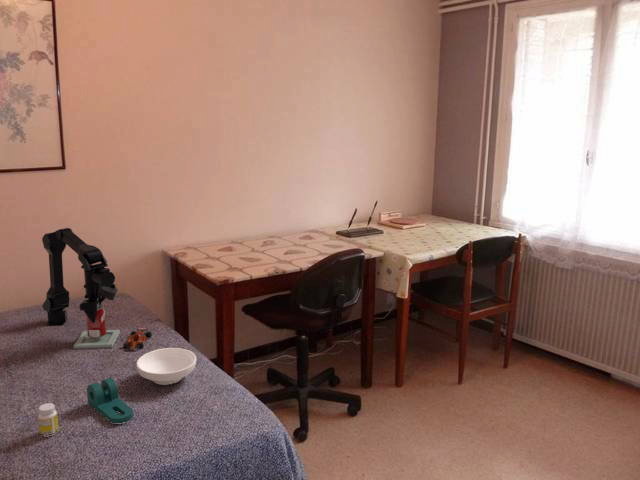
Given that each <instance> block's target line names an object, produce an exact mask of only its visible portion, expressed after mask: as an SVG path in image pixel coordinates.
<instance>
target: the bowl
mask: <svg viewBox="0 0 640 480" xmlns="http://www.w3.org/2000/svg"><path fill="white" fill-rule="evenodd" d="M196 366H197V355H196V354H195V353H194V352H193V351H190V350H188V349H185V348H181V347H180V348H179V347H164V348H158V349H155V350H151V351H149V352H146V353H144V354H142V356H140V357H139V358H138V359H137V361H136V369H137V371H138V374H139V375H140V376H141V377H142V378H144V379H147V380H150V381H152V382H153V383H154V384H156V385H162V386H167V385H169V384H170V385H174V384H176V383H178V382H180V381H181V380H182V379H183V378H185V377H186V376H187V375H189V374H191V373H192V372H193V371H194V369H195V368H196ZM173 383H174V384H173Z"/></svg>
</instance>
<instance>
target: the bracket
mask: <svg viewBox="0 0 640 480" xmlns="http://www.w3.org/2000/svg"><path fill="white" fill-rule="evenodd" d="M86 394H87V395H86V396H87V404H89V406H90V405H91V406H92V407H93V408H95V409H96V410H97V411H98V412H99V413H101V414H102V415H103V416H104V417H106V418H107V419H108V420H109V421H110V422H112V423H123V422H127V421H129V420H130V419H131V418H132V417H133V418H134V411H133V408H132V407H130V406H129V405H128V404H127V403H125V402H124V401H123V400H121V399H120V398H119V388H118V385H117V382H116V381H115V379H114V378H113V377H108V378H105V379H102V380H101V382H100V383H98V382H97V381H96V382H94V383H91V384H88V385H87V387H86ZM91 406H90V407H91ZM92 407H91V408H92ZM93 408H92V409H93ZM96 410H95V411H96ZM97 411H96V412H97ZM116 411H118V412H120V413H121V414H122V415H120V414H119V413H118V412H116ZM98 412H97V413H98ZM99 413H98V414H99ZM103 416H102V417H103ZM104 417H103V418H104ZM109 421H108V422H109ZM110 422H109V423H110Z"/></svg>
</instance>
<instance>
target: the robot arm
mask: <svg viewBox="0 0 640 480" xmlns="http://www.w3.org/2000/svg"><path fill="white" fill-rule="evenodd" d="M41 241H42V245H43V249H45V251H46V252H47V253H48V266H49V269H48V270H49V281H50V282H49V283H50V286H49V289H48V290H47V292H46V297H45V300H44V302H43V303H42V309H43V311H44V312H47V323H46V325H47V326H63V325H65V323H66V322H67V320H68V318H69V317H68V311H67V310H66V308H69V305H70V300H71V298H70V291H69V290H67V289H66V287H65V286H64V285H65V283H64V270H63V269H64V267H63V266H64V265H63V253H64V251H65V249H66V247H67V246H68V247H69V248H70V249H71V250H73V252H75V253H76V254H77V259H78V261H79V262H80V263H81V264H82V265H81V266H80V268H81V269H83V274H84V275H83V276H84V285H83V289H85V295H84V299H83V300H82V301H81V302H80V304H79V311H83V312H84V313H85V316H86V315H87V316H88V318H89V319H90V321H91V322H92V323H95V319H96V310H98V309H99V307H100V306H99V305H102V306H103V302H104V301H105V300H109V301H114V300H115V298H116V297H117V293H118V288H117V285H116V284H115V280H116V276H115V274H114V273H113V272H111V271H110V268H108V266H109V264H108V261H107V259H106V258H105V256H104V254H103V252H102V250H101V249H100V248H99V247H97V246H95V245H90V244H88V243H86V242H85V241H84V240H83V239H81V238H80V237H79V236H78V235H77V234H76V233H74V231H73V230H72V228H70V227H64V228H59V229H57V230H56V231H53V232H47V233H44V235H42V239H41Z"/></svg>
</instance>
